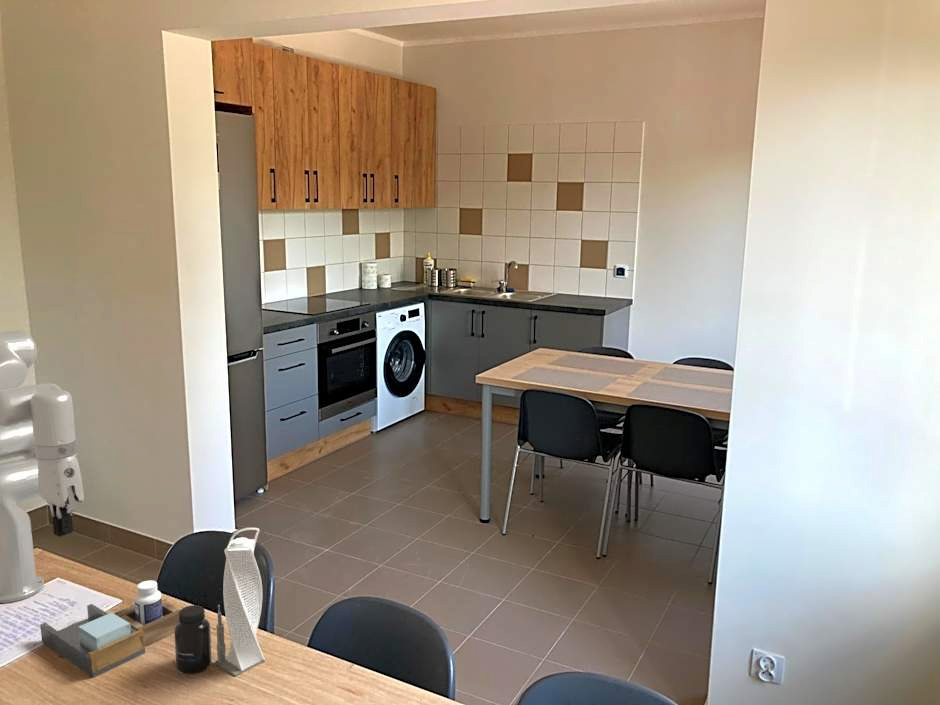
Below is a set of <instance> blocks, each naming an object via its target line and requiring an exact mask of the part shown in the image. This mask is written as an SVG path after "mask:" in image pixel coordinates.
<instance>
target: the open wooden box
mask: <svg viewBox="0 0 940 705" xmlns="http://www.w3.org/2000/svg"><path fill="white" fill-rule="evenodd" d="M180 610H181V609H180V608H178V607H177V606H175V605H173V604H171V603H169V602H167V601H165V600H163V599H162V612H163V617H161V618H159V619H157V620H155V621H152V622H150V623H148V624H146V625H142V624H140V623H138V622H137V621H136V613H135V604H133V605H131V606H129V607H126V608H123V609H121V610H119V611H116V612H115V613H114V612H113V614H115V615H117V616H119V617H120V618H122V619H124V620H125V621H127V622H129V623H130V624H131V628H133V629H135V630H136V631H138V630H140V629H142V630H144V642H145V648H146V647H148V646H150V645H152V644H154V643H156V642H159V641H160V640H162V639H165V638H167V637H169V636H171V635H173V634H174V631H175V627H176V625H177V624H178V623H179V612H180Z"/></svg>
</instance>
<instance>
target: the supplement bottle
mask: <svg viewBox="0 0 940 705" xmlns="http://www.w3.org/2000/svg"><path fill="white" fill-rule="evenodd" d="M205 611H206V610H205V608H204V606H201V605H196V604H193V605H188V606H185V607H182V608H181V609H180V612H179V623H178V624H177V625H176V627H175V631H174V633H173V634H174V652H175V666H176V667H175V668H176V670H177V671H178V672H180V673H181V674H185V675H193V674H194V675H196V674H198V673H201V672H204V671H205V670H206V669H208V668H209V667H210V666H211V664H212V661H213V660H212V659H213V658H212V636H211V633H212V632H211V631H212V630H211V623H210V622H209V620H208V619H207V618H206V613H205Z"/></svg>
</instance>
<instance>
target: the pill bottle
mask: <svg viewBox="0 0 940 705" xmlns="http://www.w3.org/2000/svg"><path fill="white" fill-rule="evenodd" d="M136 588H137V590H136V591H137V594H136V595H135V596H134V605H135V613H136V621H137V622H138V623H140V624H142V625H146V624H148V623H150V622H152V621H155V620H157V619H159V618H161V617H163V612H162V600H163V599H162V592H161V591H160V590H159V589H158V582H157V581H156V580H152V579H151V580H143V581H141V582H140V583H138V584H137V586H136Z"/></svg>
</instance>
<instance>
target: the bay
mask: <svg viewBox="0 0 940 705" xmlns="http://www.w3.org/2000/svg"><path fill="white" fill-rule="evenodd" d="M86 608H87V618H86V619H83V620H81V621H78V622H76V623H73V624H70V625H68V626H66V627H64V628H61V629H58V630H57V629H56V628H54V627H52V626H51V625H50V624H48V623H46V622H43V623H41V624H40V627H39V628H40V636H41V643H43V644H45V645H46V646H47V647H49V648H50V649H51V650H53V651H54V652H56V653H57V654H58V655H60V656H61V657H63V658H64V659H66V660H67V661H68V662H70V663H71V664H72V665H74V666H76V667H77V668H78V669H80V670H81V671H82V672H84V673H85V674H87V675H88V676H90V677H91V678H96V677H98V676H100V675H102V674H104V673H106V672H108V671H110V670H113V669H114V668H117V667H119V666H121V665H122V664H125V663H126V662H129V661H131V660H133V659H135V658H137V657H139V656H141V655H144V654H145V653H146V647H145V642H144V630H142V629H140V630H138V631H136V630H135V629H133V628H130V631H131V634H129V635H127V636H125V637H122V638H120V639H118V640H116V641H114V642H111V643H109V644H107V645H105V646H103V647H100V648H98V649H96V650H94V651H92V652H88V651H87V650H85V649H84V648H82V647H81V646H80V637H79V631H78V627H79V626H81V625H83V624H86V623H88V622H90V621H93V620H95V619H98V618H100V617H102V616H105V615H107V614H109V613H108V612H107V611H104V610H102V609H101V608H99V607H98V606H96V605H94V604H93V603H91V604H88V605H86Z"/></svg>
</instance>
